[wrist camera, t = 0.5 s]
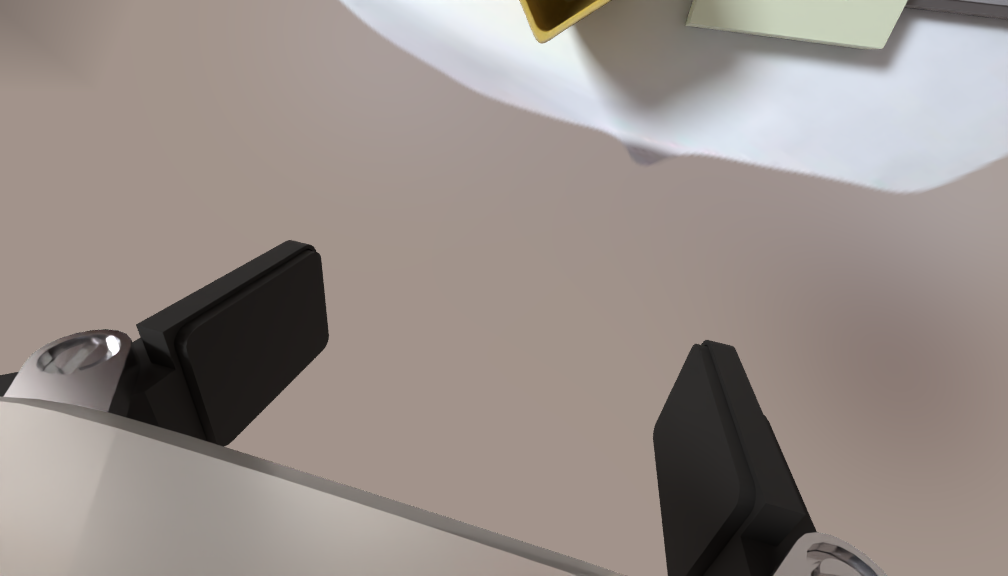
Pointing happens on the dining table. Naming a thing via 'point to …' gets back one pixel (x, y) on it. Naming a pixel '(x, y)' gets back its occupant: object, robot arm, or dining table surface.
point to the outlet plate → (803, 19)
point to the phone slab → (964, 7)
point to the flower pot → (556, 15)
